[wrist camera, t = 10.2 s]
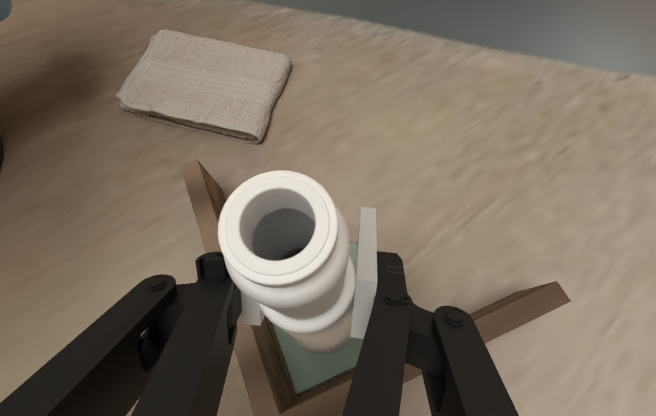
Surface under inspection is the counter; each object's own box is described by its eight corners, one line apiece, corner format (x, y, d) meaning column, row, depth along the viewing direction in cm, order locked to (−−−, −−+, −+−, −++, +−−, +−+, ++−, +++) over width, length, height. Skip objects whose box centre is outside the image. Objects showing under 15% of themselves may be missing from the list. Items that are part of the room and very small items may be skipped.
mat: (259, 283, 30) (258, 283, 30) (354, 242, 31) (354, 241, 31) (297, 393, 27) (296, 394, 27) (403, 343, 28) (403, 343, 28)
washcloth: (164, 42, 43) (151, 20, 40) (296, 66, 40) (292, 45, 37) (119, 117, 39) (101, 99, 36) (263, 149, 36) (256, 133, 33)
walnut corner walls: (207, 194, 34) (180, 165, 28) (404, 115, 36) (415, 75, 31) (282, 427, 26) (264, 450, 21) (526, 308, 29) (570, 301, 23)
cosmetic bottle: (370, 293, 27) (488, 153, 6) (339, 368, 25) (363, 502, 5) (304, 261, 28) (224, 53, 8) (269, 330, 26) (31, 302, 6)
